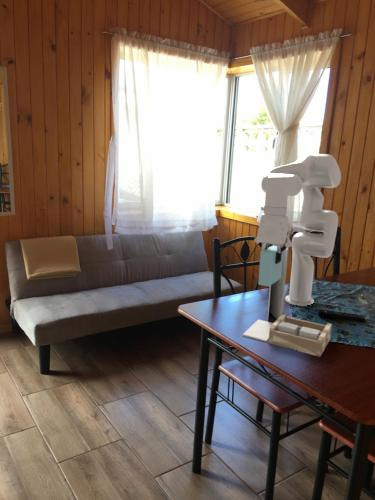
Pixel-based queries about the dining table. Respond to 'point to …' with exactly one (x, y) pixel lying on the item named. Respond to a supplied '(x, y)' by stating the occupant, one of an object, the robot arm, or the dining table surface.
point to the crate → (296, 341)
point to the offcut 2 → (309, 333)
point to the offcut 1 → (288, 328)
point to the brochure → (278, 290)
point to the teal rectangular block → (269, 267)
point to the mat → (259, 330)
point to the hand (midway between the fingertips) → (271, 261)
